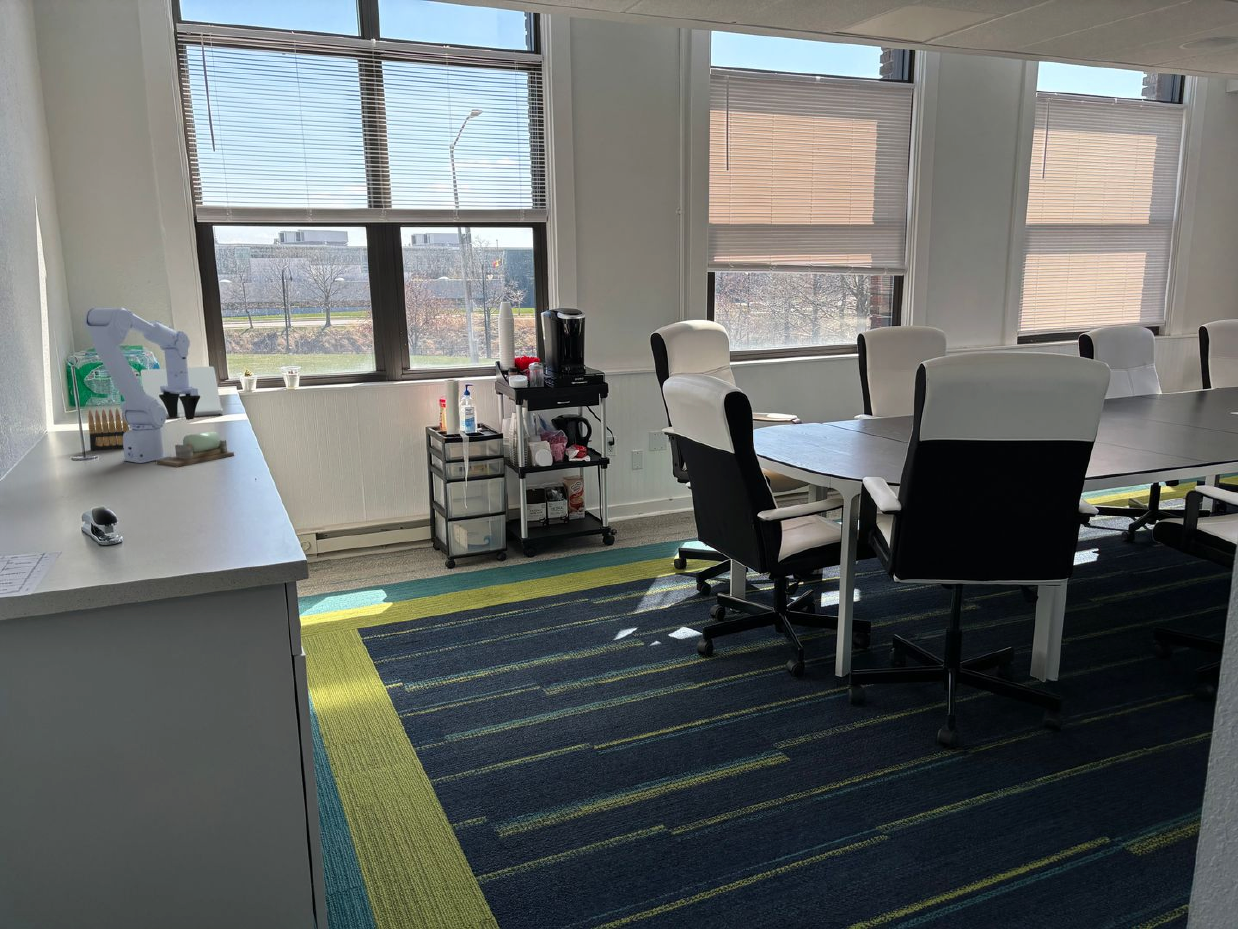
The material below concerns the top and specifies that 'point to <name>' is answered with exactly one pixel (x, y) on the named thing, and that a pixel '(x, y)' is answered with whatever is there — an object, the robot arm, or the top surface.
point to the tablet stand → (197, 379)
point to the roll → (202, 441)
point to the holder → (195, 455)
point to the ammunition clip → (106, 431)
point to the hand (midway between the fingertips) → (181, 418)
